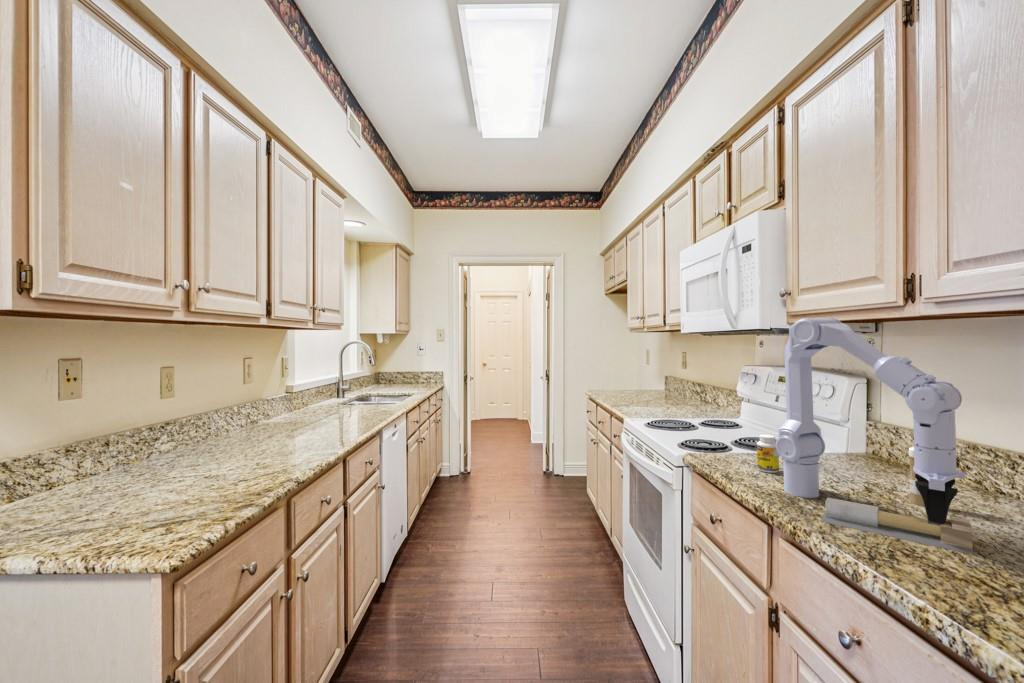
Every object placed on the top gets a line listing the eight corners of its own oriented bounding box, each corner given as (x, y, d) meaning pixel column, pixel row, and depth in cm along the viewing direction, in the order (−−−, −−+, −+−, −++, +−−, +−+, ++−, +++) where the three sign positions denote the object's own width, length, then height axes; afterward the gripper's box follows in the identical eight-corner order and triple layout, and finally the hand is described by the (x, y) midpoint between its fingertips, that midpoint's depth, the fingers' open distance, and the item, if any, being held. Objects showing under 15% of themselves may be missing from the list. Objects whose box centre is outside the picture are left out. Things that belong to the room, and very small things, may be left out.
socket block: (939, 533, 84) (939, 514, 84) (969, 539, 81) (969, 520, 81) (941, 542, 80) (940, 523, 80) (972, 549, 77) (972, 529, 77)
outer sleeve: (827, 512, 95) (827, 497, 95) (878, 522, 89) (878, 506, 89) (825, 516, 93) (825, 501, 93) (877, 527, 87) (877, 511, 87)
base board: (827, 511, 98) (827, 506, 98) (968, 539, 83) (968, 534, 83) (820, 526, 90) (820, 521, 90) (974, 560, 76) (974, 554, 76)
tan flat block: (869, 518, 90) (868, 485, 90) (955, 535, 81) (954, 499, 81) (868, 521, 88) (867, 487, 88) (956, 539, 80) (955, 502, 80)
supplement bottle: (753, 469, 129) (752, 435, 129) (765, 466, 131) (764, 433, 131) (771, 474, 124) (770, 438, 124) (783, 471, 126) (782, 436, 126)
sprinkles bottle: (909, 502, 101) (908, 445, 101) (937, 507, 98) (935, 448, 98) (909, 508, 98) (908, 449, 98) (937, 514, 95) (936, 452, 95)
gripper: (968, 458, 74) (970, 537, 74) (961, 441, 85) (962, 511, 85) (912, 451, 79) (914, 526, 79) (912, 437, 90) (913, 502, 90)
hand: (935, 518), depth 82 cm, fingers open, 4 cm apart
